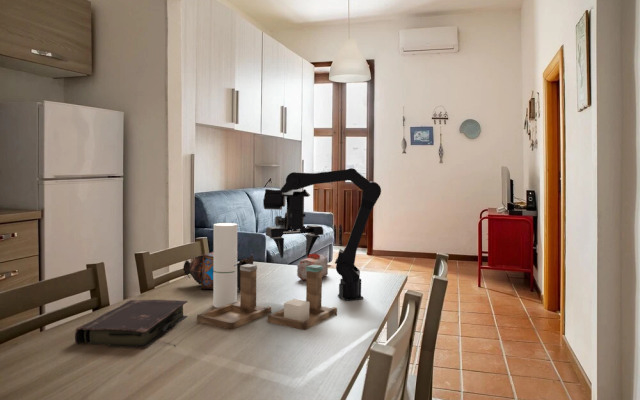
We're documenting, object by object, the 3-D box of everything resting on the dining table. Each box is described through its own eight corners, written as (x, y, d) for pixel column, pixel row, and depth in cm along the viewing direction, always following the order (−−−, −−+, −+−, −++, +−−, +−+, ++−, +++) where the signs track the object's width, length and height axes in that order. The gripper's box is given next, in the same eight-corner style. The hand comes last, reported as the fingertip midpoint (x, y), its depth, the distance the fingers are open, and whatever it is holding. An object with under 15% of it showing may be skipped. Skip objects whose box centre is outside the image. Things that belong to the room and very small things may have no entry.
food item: (314, 283, 178) (314, 257, 177) (295, 281, 181) (295, 255, 180) (329, 276, 190) (330, 251, 189) (311, 274, 193) (312, 249, 193)
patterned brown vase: (249, 306, 169) (183, 297, 174) (260, 265, 179) (197, 258, 183) (239, 284, 156) (168, 276, 161) (252, 242, 166) (184, 235, 170)
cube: (294, 316, 134) (294, 298, 134) (309, 319, 132) (309, 301, 131) (283, 321, 130) (284, 303, 129) (299, 324, 127) (299, 306, 127)
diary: (74, 347, 114) (73, 326, 113) (128, 315, 139) (128, 298, 138) (148, 351, 111) (147, 329, 111) (190, 318, 136) (190, 300, 136)
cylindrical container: (241, 303, 150) (241, 223, 148) (229, 309, 143) (229, 226, 142) (221, 300, 152) (221, 222, 151) (208, 306, 146) (208, 225, 144)
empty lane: (238, 308, 144) (239, 261, 143) (271, 315, 138) (271, 266, 137) (197, 324, 129) (197, 271, 128) (231, 332, 123) (231, 277, 122)
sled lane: (301, 308, 144) (302, 262, 143) (336, 315, 138) (337, 267, 137) (267, 324, 129) (267, 272, 128) (305, 332, 123) (305, 278, 122)
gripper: (310, 207, 170) (309, 251, 171) (260, 208, 162) (259, 254, 163) (324, 210, 160) (323, 256, 161) (272, 211, 152) (271, 260, 153)
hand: (294, 256), depth 160 cm, fingers open, 9 cm apart
